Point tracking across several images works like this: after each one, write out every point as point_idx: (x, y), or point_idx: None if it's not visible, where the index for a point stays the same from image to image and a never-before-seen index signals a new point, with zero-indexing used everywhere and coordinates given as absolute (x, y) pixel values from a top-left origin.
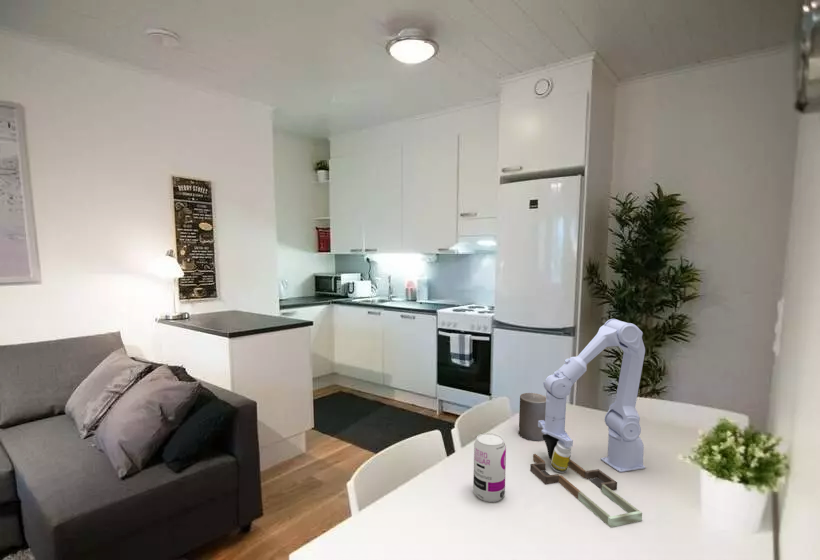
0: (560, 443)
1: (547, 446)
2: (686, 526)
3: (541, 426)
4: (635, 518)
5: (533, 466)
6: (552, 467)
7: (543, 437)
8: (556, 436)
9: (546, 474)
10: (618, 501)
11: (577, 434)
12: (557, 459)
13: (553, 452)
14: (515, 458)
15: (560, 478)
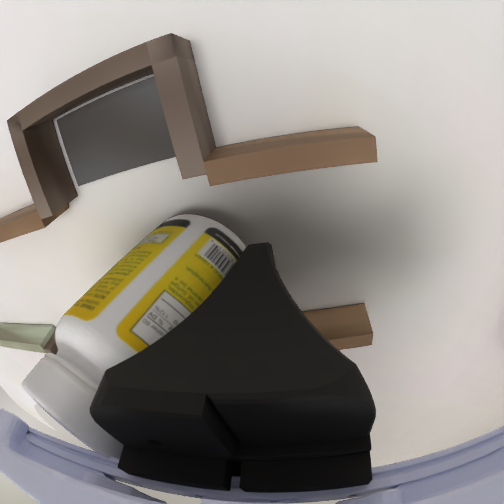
0: (63, 425)
1: (261, 306)
2: (15, 378)
3: (491, 487)
4: None
5: (126, 52)
6: (174, 217)
7: (313, 374)
8: (24, 480)
9: (128, 146)
10: (6, 331)
11: (465, 408)
12: (97, 282)
13: (137, 303)
14: (400, 7)
15: (33, 210)
